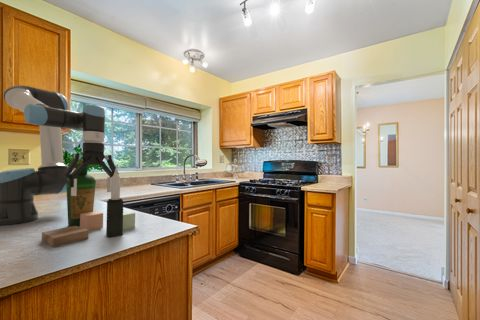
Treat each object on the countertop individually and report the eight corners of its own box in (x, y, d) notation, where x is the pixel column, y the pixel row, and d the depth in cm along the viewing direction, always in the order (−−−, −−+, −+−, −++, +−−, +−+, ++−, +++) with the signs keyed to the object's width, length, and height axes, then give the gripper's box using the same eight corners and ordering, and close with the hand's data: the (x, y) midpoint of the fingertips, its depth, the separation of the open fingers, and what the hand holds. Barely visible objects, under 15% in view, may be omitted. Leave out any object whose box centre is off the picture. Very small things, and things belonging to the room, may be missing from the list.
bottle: (79, 229, 90) (81, 160, 90) (58, 227, 92) (59, 159, 92) (101, 222, 100) (102, 160, 101) (81, 220, 103) (82, 159, 103)
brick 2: (112, 227, 93) (113, 213, 93) (126, 224, 98) (127, 211, 98) (121, 230, 90) (121, 215, 90) (134, 226, 95) (135, 212, 95)
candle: (105, 233, 85) (107, 168, 85) (120, 231, 88) (122, 168, 88) (107, 237, 81) (109, 168, 81) (123, 235, 84) (124, 168, 84)
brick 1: (79, 228, 91) (80, 213, 91) (95, 225, 96) (95, 211, 96) (87, 231, 88) (87, 215, 88) (102, 227, 93) (103, 213, 93)
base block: (41, 241, 76) (41, 232, 76) (75, 233, 85) (75, 225, 85) (53, 247, 71) (53, 238, 71) (88, 238, 80) (88, 230, 80)
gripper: (61, 139, 80) (60, 198, 80) (127, 144, 101) (126, 191, 101) (52, 140, 84) (51, 196, 84) (118, 145, 105) (117, 190, 105)
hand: (92, 193), depth 92 cm, fingers open, 13 cm apart
